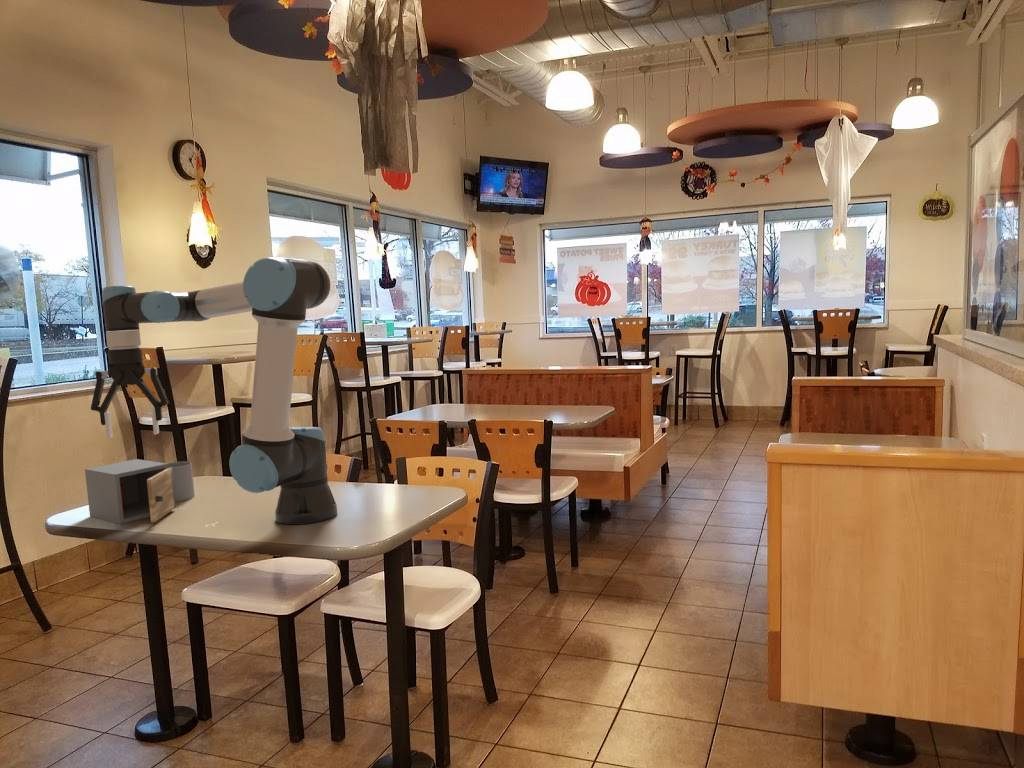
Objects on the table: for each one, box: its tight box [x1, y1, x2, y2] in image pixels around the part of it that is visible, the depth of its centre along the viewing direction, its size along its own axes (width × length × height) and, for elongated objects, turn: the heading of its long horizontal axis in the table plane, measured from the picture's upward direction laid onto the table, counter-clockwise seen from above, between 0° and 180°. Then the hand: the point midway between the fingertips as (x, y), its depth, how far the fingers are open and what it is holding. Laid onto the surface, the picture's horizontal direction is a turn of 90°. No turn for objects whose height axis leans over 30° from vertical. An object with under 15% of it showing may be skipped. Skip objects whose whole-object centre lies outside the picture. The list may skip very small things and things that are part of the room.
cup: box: [167, 461, 196, 503], centre depth 212 cm, size 8×8×10 cm
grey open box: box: [84, 458, 168, 525], centre depth 197 cm, size 16×14×13 cm
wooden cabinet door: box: [147, 468, 176, 523], centre depth 191 cm, size 2×14×11 cm, turn 5°
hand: (133, 435), depth 185 cm, fingers open, 10 cm apart
